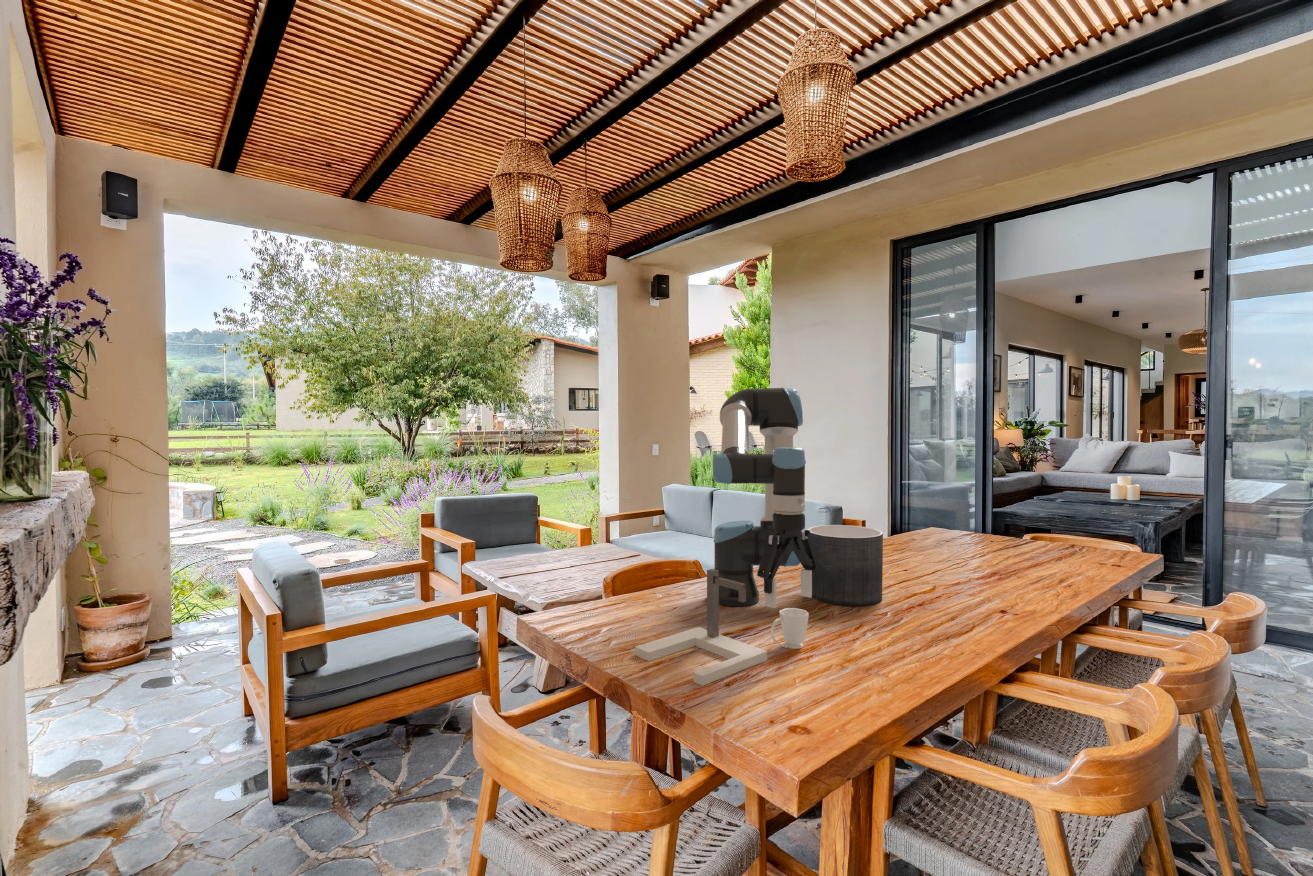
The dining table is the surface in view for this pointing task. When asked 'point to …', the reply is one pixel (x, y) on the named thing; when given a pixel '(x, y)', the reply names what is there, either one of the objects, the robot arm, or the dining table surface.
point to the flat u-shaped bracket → (726, 647)
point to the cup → (792, 627)
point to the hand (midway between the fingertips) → (788, 601)
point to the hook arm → (713, 599)
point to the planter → (847, 565)
